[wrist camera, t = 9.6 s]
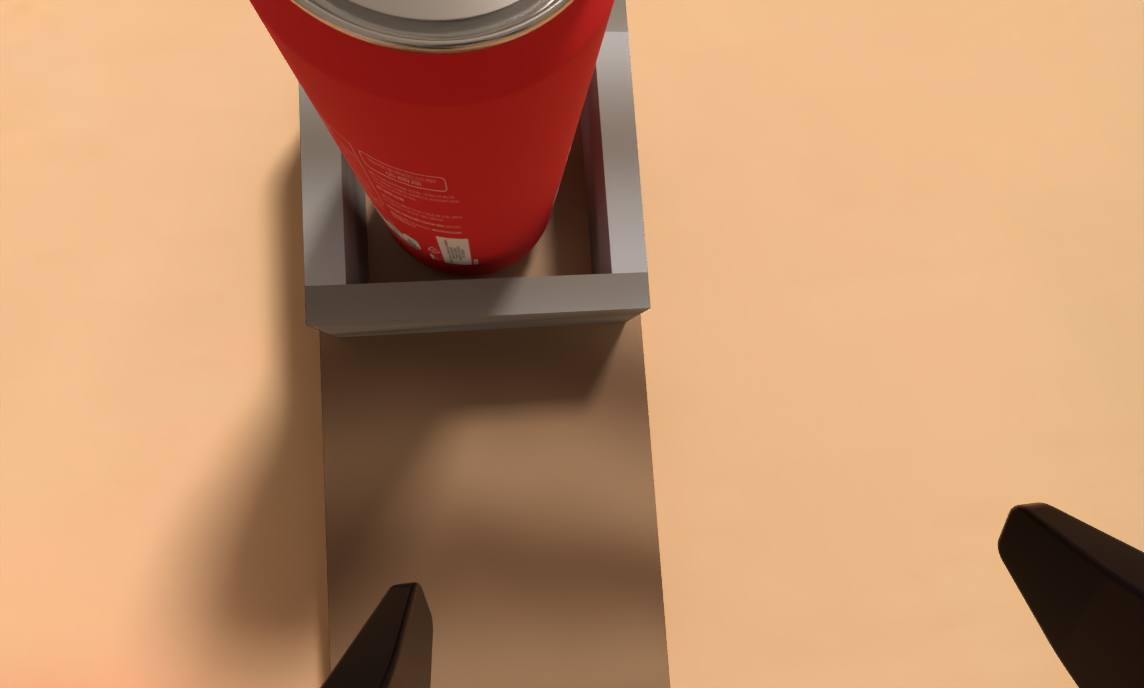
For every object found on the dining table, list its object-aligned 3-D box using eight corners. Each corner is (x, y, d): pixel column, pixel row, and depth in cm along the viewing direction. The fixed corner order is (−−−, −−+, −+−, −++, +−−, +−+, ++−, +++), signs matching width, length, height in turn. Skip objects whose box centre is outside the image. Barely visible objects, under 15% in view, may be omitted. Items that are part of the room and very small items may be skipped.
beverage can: (362, 153, 18) (122, -298, 7) (516, 106, 19) (551, -370, 7) (418, 306, 18) (276, 123, 6) (573, 252, 19) (703, 0, 7)
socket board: (660, 687, 19) (706, 766, 15) (344, 732, 18) (299, 833, 14) (612, 78, 21) (642, -1, 17) (321, 76, 20) (276, -10, 16)
